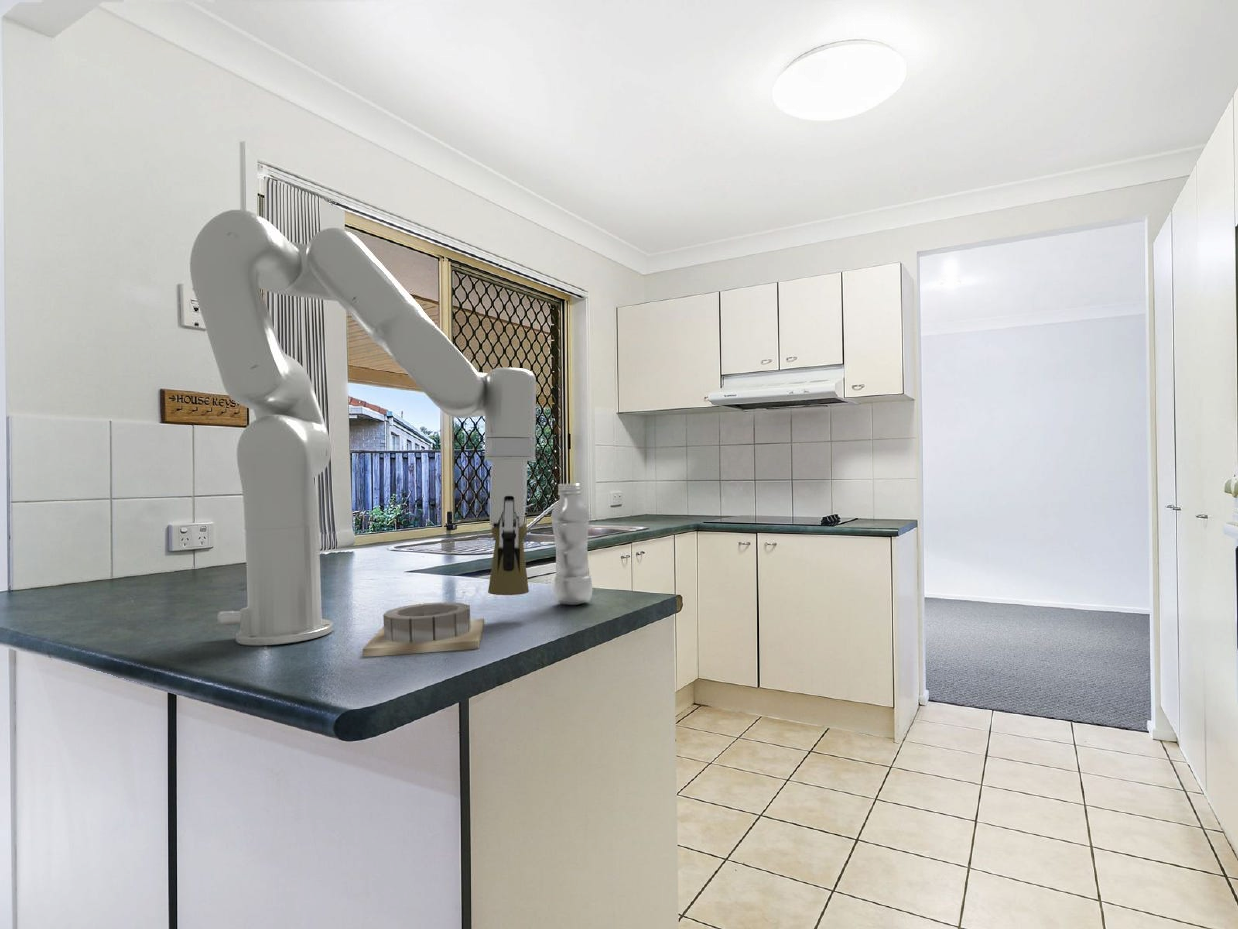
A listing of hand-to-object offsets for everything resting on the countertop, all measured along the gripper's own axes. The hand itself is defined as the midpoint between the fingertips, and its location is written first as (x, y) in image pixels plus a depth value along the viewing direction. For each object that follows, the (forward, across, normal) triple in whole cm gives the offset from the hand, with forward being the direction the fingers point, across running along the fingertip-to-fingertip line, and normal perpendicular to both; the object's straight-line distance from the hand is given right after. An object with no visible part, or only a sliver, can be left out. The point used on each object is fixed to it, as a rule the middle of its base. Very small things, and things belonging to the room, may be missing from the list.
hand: (508, 572), depth 104 cm
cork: (+3, 0, 0) cm, 3 cm away
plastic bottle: (+7, -10, +10) cm, 16 cm away
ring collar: (+8, +9, -10) cm, 16 cm away
